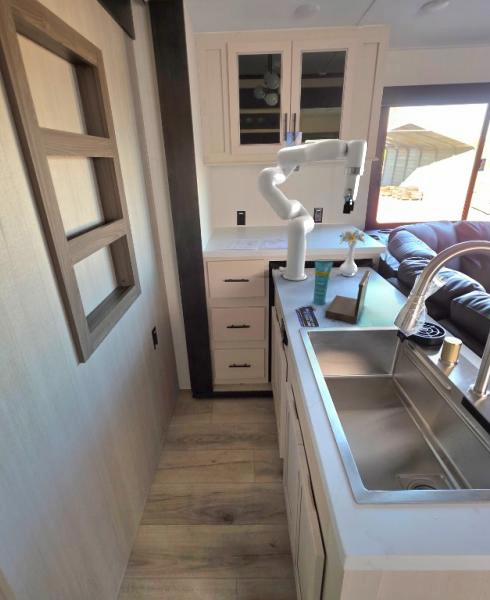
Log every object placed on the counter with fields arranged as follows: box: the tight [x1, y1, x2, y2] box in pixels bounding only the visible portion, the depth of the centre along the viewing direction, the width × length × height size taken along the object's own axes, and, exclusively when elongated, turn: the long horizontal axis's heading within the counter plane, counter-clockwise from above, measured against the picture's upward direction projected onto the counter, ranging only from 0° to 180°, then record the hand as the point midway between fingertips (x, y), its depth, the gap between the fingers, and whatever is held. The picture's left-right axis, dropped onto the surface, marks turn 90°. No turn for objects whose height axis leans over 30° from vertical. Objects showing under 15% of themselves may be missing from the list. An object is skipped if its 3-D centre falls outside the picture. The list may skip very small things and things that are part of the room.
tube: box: [312, 259, 334, 306], centre depth 135 cm, size 7×5×19 cm, turn 72°
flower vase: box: [339, 228, 366, 277], centre depth 169 cm, size 13×18×25 cm
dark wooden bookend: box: [324, 270, 371, 325], centre depth 127 cm, size 12×18×16 cm
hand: (348, 212), depth 143 cm, fingers open, 9 cm apart
